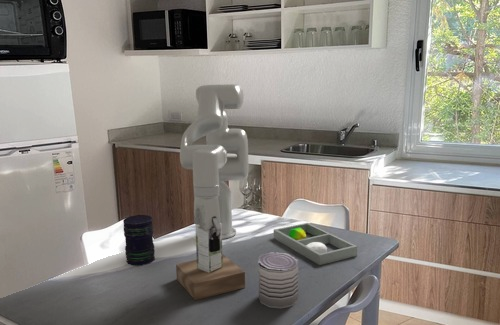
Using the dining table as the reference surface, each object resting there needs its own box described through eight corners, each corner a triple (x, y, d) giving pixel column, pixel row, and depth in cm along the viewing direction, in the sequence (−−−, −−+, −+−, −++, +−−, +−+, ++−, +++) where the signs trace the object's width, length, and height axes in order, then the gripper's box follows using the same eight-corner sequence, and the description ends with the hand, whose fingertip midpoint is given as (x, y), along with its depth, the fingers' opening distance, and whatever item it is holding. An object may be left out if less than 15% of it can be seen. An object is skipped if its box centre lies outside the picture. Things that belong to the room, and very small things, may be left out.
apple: (290, 222, 174) (308, 227, 168) (298, 229, 178) (316, 234, 172) (282, 239, 172) (301, 244, 166) (290, 246, 176) (309, 252, 170)
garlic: (308, 258, 159) (309, 248, 159) (301, 251, 166) (301, 241, 165) (329, 255, 162) (329, 245, 161) (321, 248, 168) (321, 238, 167)
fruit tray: (273, 238, 179) (273, 229, 178) (307, 231, 186) (307, 222, 186) (319, 265, 153) (319, 255, 152) (357, 255, 160) (357, 246, 160)
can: (278, 286, 139) (278, 248, 136) (306, 299, 130) (307, 259, 128) (250, 298, 131) (249, 258, 129) (278, 313, 123) (278, 271, 121)
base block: (176, 279, 145) (176, 264, 144) (223, 268, 152) (222, 254, 151) (195, 300, 131) (194, 283, 130) (245, 287, 138) (244, 271, 137)
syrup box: (210, 262, 144) (208, 218, 141) (223, 267, 140) (221, 222, 138) (196, 268, 140) (194, 223, 137) (209, 273, 136) (207, 227, 133)
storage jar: (122, 266, 156) (119, 223, 153) (130, 254, 165) (127, 215, 162) (151, 265, 155) (148, 223, 152) (158, 254, 165) (155, 214, 162)
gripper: (184, 186, 142) (187, 239, 145) (206, 199, 127) (208, 258, 130) (206, 183, 145) (209, 235, 148) (230, 195, 130) (232, 253, 133)
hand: (208, 246), depth 139 cm, fingers open, 8 cm apart
